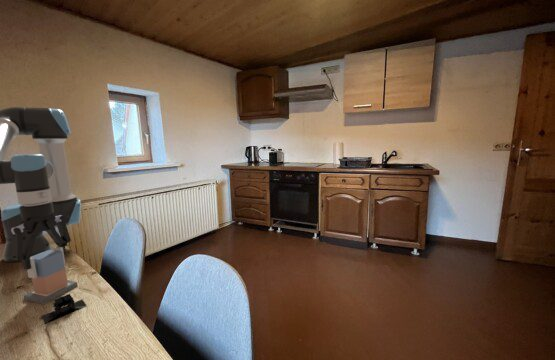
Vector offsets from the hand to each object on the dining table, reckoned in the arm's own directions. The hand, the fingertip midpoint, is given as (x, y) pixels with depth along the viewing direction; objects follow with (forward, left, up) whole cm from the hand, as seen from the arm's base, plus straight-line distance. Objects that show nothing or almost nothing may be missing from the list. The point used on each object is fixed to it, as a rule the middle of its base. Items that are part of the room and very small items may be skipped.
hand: (47, 270), depth 81 cm
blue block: (0, 0, 0) cm, 0 cm away
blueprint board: (0, 0, -8) cm, 8 cm away
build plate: (+5, +14, -9) cm, 18 cm away
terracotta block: (0, 0, -6) cm, 6 cm away
